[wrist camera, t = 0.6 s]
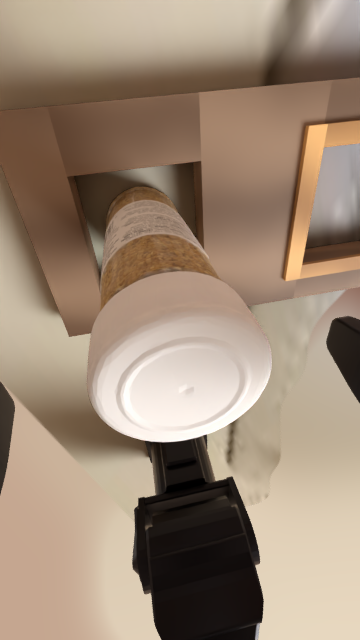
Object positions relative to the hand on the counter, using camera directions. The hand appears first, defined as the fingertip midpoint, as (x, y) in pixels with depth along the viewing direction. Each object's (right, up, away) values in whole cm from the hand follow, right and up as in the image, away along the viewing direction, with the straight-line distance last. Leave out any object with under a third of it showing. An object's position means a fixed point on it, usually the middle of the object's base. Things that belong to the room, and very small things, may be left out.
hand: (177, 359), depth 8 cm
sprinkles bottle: (-2, +7, +10) cm, 12 cm away
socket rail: (+5, +8, +10) cm, 14 cm away
